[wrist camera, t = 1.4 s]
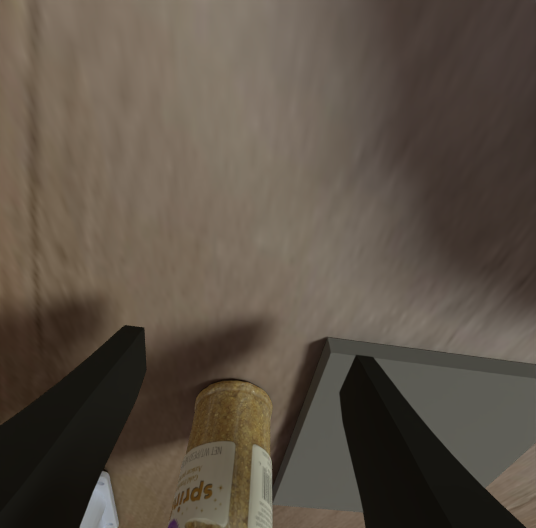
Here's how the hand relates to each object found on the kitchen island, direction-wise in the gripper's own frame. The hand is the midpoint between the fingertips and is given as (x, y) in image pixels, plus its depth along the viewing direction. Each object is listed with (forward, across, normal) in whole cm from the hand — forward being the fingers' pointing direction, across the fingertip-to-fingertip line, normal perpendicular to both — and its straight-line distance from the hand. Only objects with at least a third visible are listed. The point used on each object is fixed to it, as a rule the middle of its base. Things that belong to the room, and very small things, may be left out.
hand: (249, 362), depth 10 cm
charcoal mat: (+4, -11, +10) cm, 15 cm away
